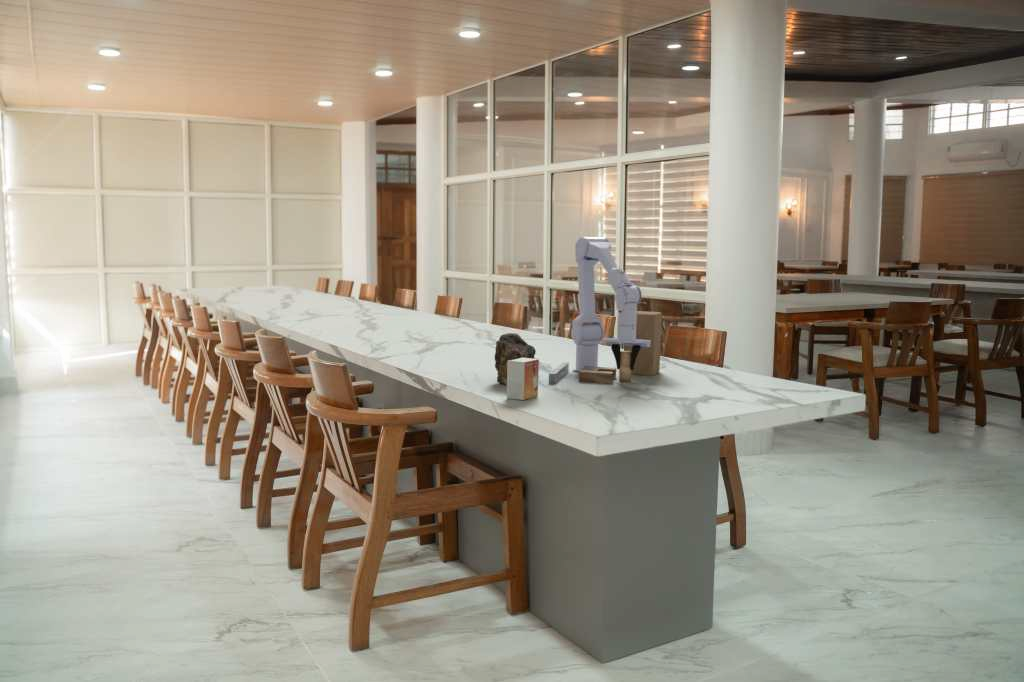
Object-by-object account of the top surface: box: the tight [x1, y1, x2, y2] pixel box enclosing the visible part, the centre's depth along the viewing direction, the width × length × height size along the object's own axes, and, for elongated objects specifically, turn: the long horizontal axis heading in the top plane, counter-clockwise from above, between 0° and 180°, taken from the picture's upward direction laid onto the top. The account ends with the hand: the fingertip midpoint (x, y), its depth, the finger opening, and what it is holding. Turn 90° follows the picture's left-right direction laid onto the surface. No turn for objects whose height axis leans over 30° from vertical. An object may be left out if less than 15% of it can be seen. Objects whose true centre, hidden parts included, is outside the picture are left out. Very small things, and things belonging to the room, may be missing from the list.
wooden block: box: [623, 310, 663, 377], centre depth 279 cm, size 10×10×20 cm
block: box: [578, 366, 617, 384], centre depth 265 cm, size 12×10×3 cm
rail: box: [548, 362, 570, 385], centre depth 268 cm, size 24×2×3 cm, turn 167°
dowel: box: [618, 350, 632, 383], centre depth 263 cm, size 4×4×9 cm
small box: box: [506, 358, 540, 401], centre depth 234 cm, size 8×6×10 cm
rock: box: [494, 332, 537, 387], centre depth 257 cm, size 14×13×15 cm
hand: (625, 369), depth 263 cm, fingers closed on dowel, 4 cm apart
